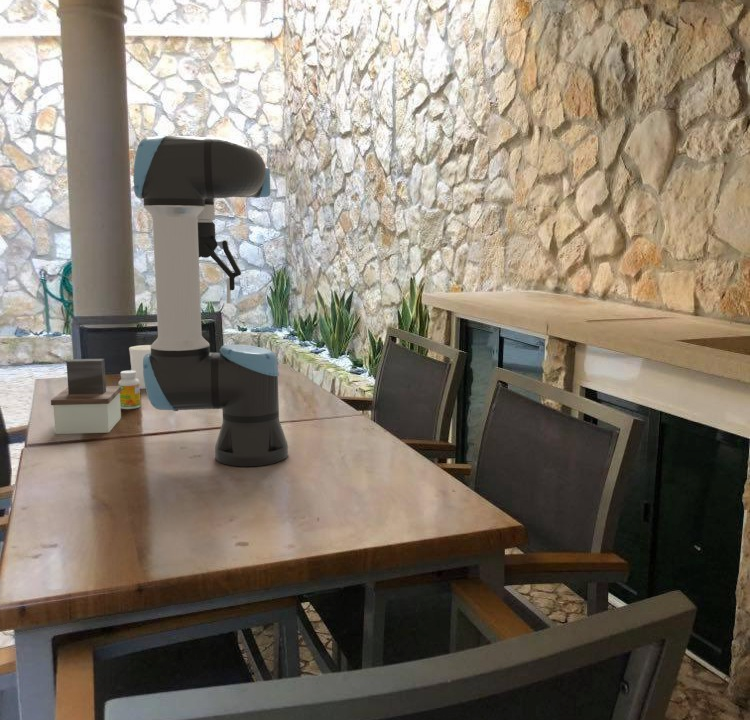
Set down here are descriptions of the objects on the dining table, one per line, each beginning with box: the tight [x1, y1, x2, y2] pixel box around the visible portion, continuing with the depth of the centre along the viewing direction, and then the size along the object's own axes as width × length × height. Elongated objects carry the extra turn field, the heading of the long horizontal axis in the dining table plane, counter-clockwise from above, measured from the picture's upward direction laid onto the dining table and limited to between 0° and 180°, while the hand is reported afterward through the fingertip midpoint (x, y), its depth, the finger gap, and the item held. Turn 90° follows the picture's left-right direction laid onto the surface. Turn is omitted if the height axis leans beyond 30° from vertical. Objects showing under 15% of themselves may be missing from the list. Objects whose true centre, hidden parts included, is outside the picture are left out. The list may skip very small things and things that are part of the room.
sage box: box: [52, 393, 122, 435], centre depth 181 cm, size 14×12×7 cm
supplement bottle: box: [117, 369, 141, 410], centre depth 200 cm, size 5×5×10 cm
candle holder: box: [128, 344, 152, 390], centre depth 228 cm, size 10×10×12 cm
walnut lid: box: [50, 358, 122, 406], centre depth 180 cm, size 15×13×10 cm
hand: (203, 303), depth 199 cm, fingers open, 13 cm apart
